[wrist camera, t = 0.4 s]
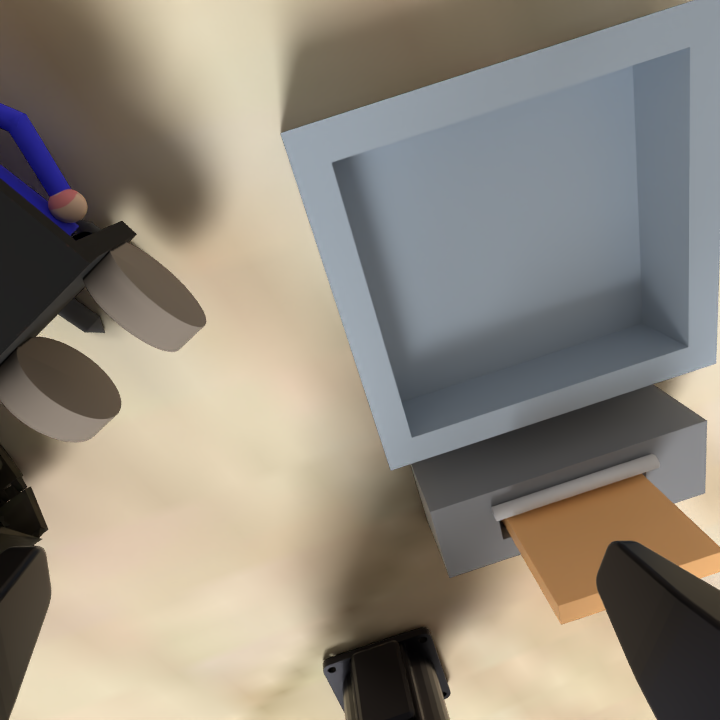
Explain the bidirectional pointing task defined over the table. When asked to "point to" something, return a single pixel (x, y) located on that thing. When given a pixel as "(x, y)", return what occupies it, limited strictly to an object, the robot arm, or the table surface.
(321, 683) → the table surface
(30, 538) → the toy tank
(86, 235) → the figurine character
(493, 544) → the dispenser
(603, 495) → the tan wooden block
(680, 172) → the tray
